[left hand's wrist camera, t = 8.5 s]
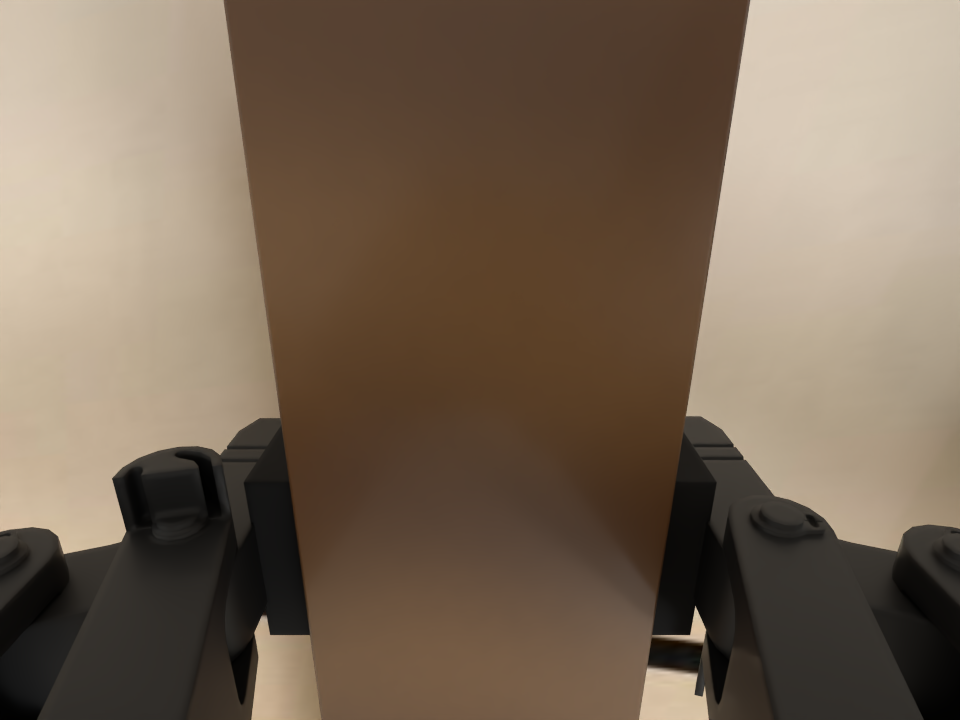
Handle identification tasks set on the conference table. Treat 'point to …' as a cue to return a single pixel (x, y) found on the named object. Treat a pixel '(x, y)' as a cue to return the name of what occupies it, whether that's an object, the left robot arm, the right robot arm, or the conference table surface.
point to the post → (483, 330)
